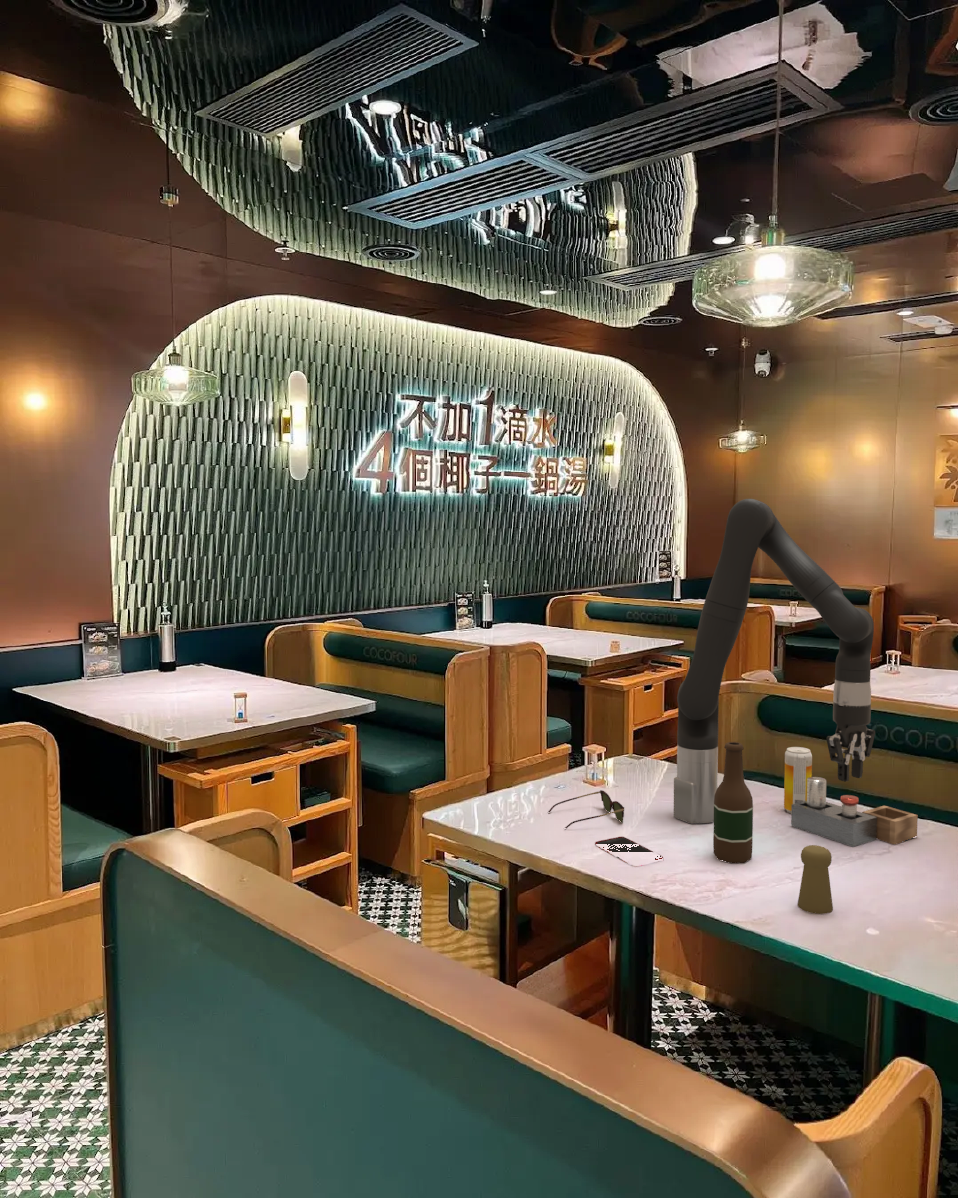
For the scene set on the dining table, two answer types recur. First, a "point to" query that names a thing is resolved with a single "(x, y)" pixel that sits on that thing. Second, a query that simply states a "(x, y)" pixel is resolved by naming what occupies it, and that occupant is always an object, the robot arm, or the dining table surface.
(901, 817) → the wooden hollow square frame
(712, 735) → the robot arm
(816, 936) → the dining table surface
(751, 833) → the beer bottle
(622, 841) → the cell phone
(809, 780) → the gray round-topped cylinder
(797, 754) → the beer can
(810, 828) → the socket block
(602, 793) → the sunglasses
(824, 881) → the olive knobbed peg
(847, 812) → the copper-capped cylinder
